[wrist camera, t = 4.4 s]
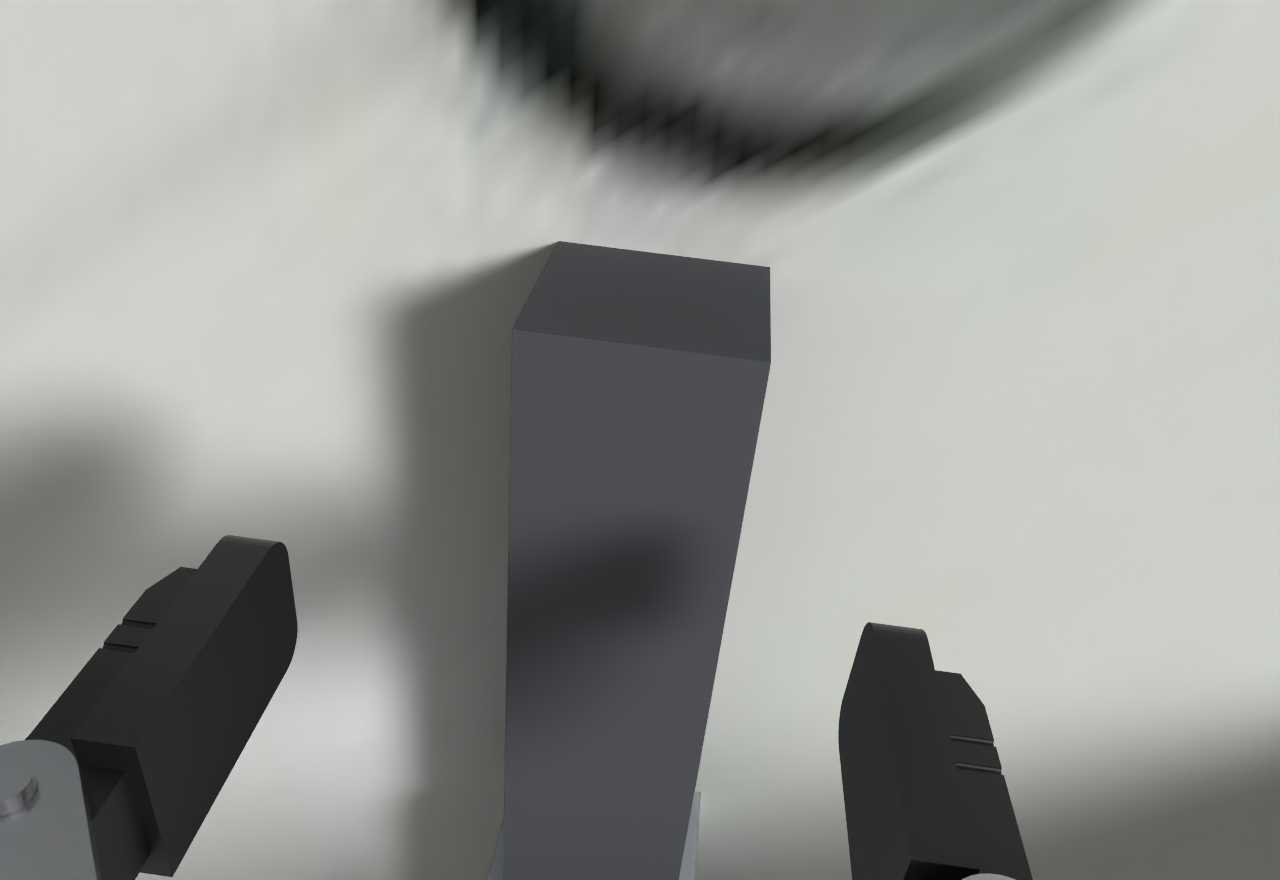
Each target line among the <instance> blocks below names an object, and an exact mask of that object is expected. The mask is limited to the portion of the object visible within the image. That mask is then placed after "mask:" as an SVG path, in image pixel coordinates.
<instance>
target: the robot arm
mask: <svg viewBox="0 0 1280 880" xmlns="http://www.w3.org/2000/svg"><path fill="white" fill-rule="evenodd" d="M296 639H297V617H296V610H295V602H294V595H293V587H292V580H291V573H290V565H289V558H288V552H287V549H286V547H285V545H284V544H283V543H281V542H276V541H269V540H261V539H254V538H246V537H239V536H231V535H228V536H225V537H223V538H222V539H221V540H220V541H219V542H218V543H217V544H216V546H215V547H214V548H213V550H212V551H211V552H210V554H209V555H208V556H207V558H206V559H205V560H204V562H203V563H202V564H201V566H200V567H199V568H198V569H192V568H185V567H180V568H179V569H177V570H175V571H174V572H172V573H171V574H169V575H168V576H166V577H165V578H163V579H162V580H160V581H159V582H157V583H156V584H154V585H153V586H151V587H150V588H148V589H147V590H145V592H144V593H143V594H142V595H141V597H140V598H139V599H138V600H137V602H136V603H135V604H134V605H133V607H132V608H131V609H130V610H129V612H128V613H127V614H126V615H125V617H124V618H123V622H122V624H121V625H119V624H118V625H117V627H116V628H115V629H114V630H113V632H112V633H111V634H110V635H109V637H108V638H107V639H106V640H105V642H104V646H103V648H102V649H101V648H99V649H98V650H97V651H96V653H95V654H94V655H93V656H92V658H91V659H90V660H89V661H88V663H87V664H86V665H85V666H84V668H83V669H82V670H81V671H80V673H79V674H78V675H77V676H76V678H75V679H74V680H73V681H72V683H71V684H70V685H69V686H68V688H67V689H66V690H65V691H64V693H63V694H62V695H61V696H60V698H59V699H58V700H57V701H56V703H55V704H54V705H53V706H52V708H51V709H50V710H49V711H48V713H47V714H46V715H45V716H44V718H43V719H42V720H41V721H40V722H39V724H38V725H37V726H36V727H35V729H34V730H33V731H32V732H31V734H30V735H29V736H28V737H27V738H26V739H25V740H23V741H16V742H12V743H8V744H4V745H1V746H0V880H135V879H136V877H137V875H138V874H139V872H141V873H148V874H155V875H162V876H169V877H173V875H174V873H175V871H176V870H177V868H178V866H179V864H180V862H181V861H182V859H183V857H184V855H185V853H186V852H187V850H188V848H189V846H190V844H191V843H192V841H193V839H194V837H195V835H196V833H197V832H198V830H199V828H200V826H201V824H202V823H203V821H204V819H205V817H206V815H207V814H208V812H209V810H210V808H211V806H212V805H213V803H214V801H215V799H216V797H217V796H218V794H219V792H220V790H221V788H222V787H223V785H224V783H225V781H226V779H227V778H228V776H229V774H230V772H231V770H232V769H233V767H234V765H235V763H236V761H237V760H238V758H239V756H240V754H241V752H242V751H243V749H244V747H245V745H246V743H247V742H248V740H249V738H250V736H251V734H252V732H253V731H254V729H255V727H256V725H257V723H258V722H259V720H260V718H261V716H262V714H263V713H264V711H265V709H266V707H267V705H268V704H269V702H270V700H271V698H272V696H273V695H274V693H275V691H276V689H277V687H278V686H279V684H280V682H281V680H282V678H283V677H284V675H285V673H286V671H287V669H288V667H289V665H290V662H291V660H292V657H293V654H294V650H295V645H296ZM993 742H994V738H993V735H992V731H991V728H990V724H989V720H988V717H987V713H986V709H985V706H984V704H983V703H982V702H981V700H980V699H979V698H978V696H977V695H976V694H975V692H974V691H973V690H972V688H971V687H970V686H969V684H968V683H967V682H966V680H965V679H964V678H963V676H962V675H961V674H958V673H950V672H943V671H936V670H935V669H934V664H933V660H932V655H931V651H930V647H929V642H928V638H927V635H926V633H925V632H924V630H922V629H915V628H907V627H900V626H892V625H885V624H877V623H870V622H869V623H867V624H866V626H865V627H864V630H863V632H862V635H861V639H860V642H859V646H858V649H857V652H856V656H855V659H854V663H853V666H852V669H851V673H850V676H849V680H848V683H847V686H846V690H845V693H844V697H843V700H842V705H841V711H840V719H839V753H840V762H841V772H842V782H843V792H844V801H845V811H846V821H847V831H848V840H849V850H850V860H851V870H852V879H853V880H1033V879H1032V876H1031V872H1030V869H1029V865H1028V862H1027V858H1026V854H1025V851H1024V847H1023V843H1022V840H1021V836H1020V833H1019V829H1018V825H1017V822H1016V818H1015V814H1014V811H1013V807H1012V804H1011V800H1010V796H1009V793H1008V789H1007V785H1006V782H1005V778H1004V775H1001V768H1002V767H1001V764H1000V760H999V757H998V753H997V749H996V747H994V746H993Z"/></svg>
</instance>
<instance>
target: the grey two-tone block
mask: <svg viewBox="0 0 1280 880" xmlns="http://www.w3.org/2000/svg"><path fill="white" fill-rule="evenodd" d="M770 364H771V333H770V267H763V266H755V265H747V264H739V263H731V262H722V261H714V260H706V259H698V258H690V257H682V256H674V255H666V254H658V253H650V252H642V251H634V250H625V249H617V248H609V247H601V246H593V245H585V244H577V243H569V242H561V241H559V242H558V244H557V246H556V248H555V250H554V252H553V254H552V256H551V257H550V259H549V261H548V263H547V265H546V267H545V269H544V271H543V273H542V274H541V276H540V278H539V280H538V282H537V284H536V286H535V288H534V289H533V291H532V293H531V295H530V297H529V299H528V301H527V303H526V304H525V306H524V308H523V310H522V312H521V314H520V316H519V318H518V319H517V321H516V323H515V325H514V327H513V329H512V373H511V432H510V492H509V551H508V610H507V669H506V729H505V788H504V820H503V823H502V827H501V831H500V834H499V838H498V842H497V845H496V849H495V853H494V856H493V860H492V864H491V867H490V871H489V875H488V879H487V880H695V869H696V854H697V840H698V825H699V811H700V796H701V792H695V786H696V780H697V774H698V769H699V763H700V757H701V752H702V746H703V741H704V735H705V729H706V724H707V718H708V713H709V707H710V701H711V696H712V690H713V684H714V679H715V673H716V668H717V662H718V656H719V651H720V645H721V639H722V634H723V628H724V623H725V617H726V611H727V606H728V600H729V595H730V589H731V583H732V578H733V572H734V566H735V561H736V555H737V550H738V544H739V538H740V533H741V527H742V521H743V516H744V510H745V505H746V499H747V493H748V488H749V482H750V477H751V471H752V465H753V460H754V454H755V448H756V443H757V437H758V432H759V426H760V420H761V415H762V409H763V403H764V398H765V392H766V387H767V381H768V375H769V370H770Z"/></svg>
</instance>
